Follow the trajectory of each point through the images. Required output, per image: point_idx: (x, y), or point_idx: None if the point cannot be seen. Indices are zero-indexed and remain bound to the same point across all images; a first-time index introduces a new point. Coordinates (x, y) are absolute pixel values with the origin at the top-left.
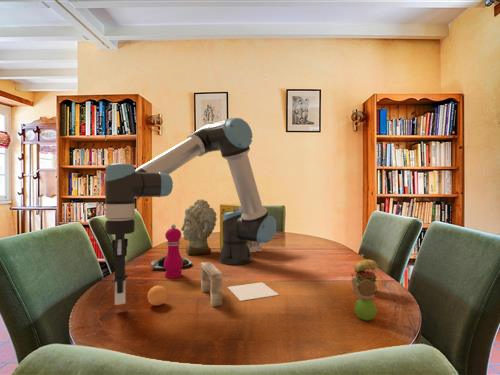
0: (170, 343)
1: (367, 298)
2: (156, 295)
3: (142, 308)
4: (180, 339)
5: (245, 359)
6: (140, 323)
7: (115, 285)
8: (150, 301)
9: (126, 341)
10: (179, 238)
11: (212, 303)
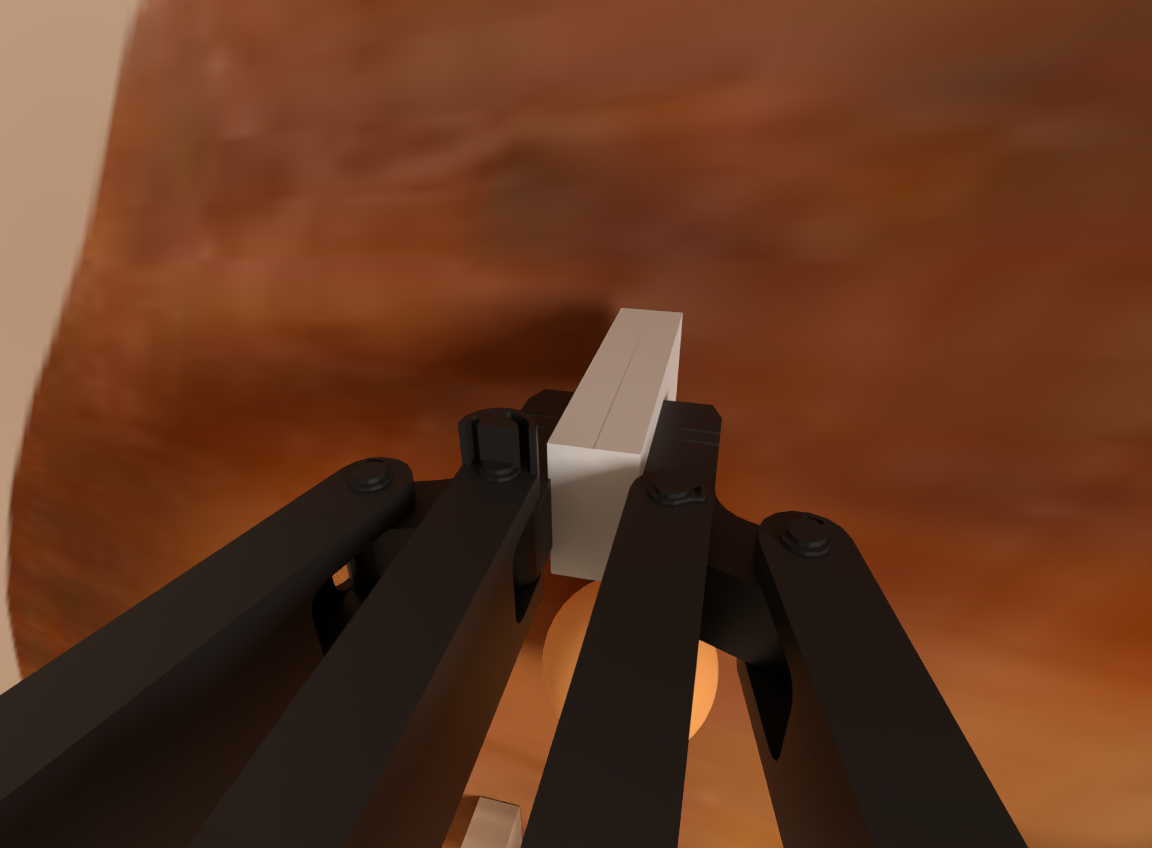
0: (111, 525)
1: None
2: (542, 661)
3: None
4: (146, 569)
5: (24, 678)
6: (348, 444)
7: (567, 419)
8: (586, 587)
9: (126, 340)
10: None
11: (473, 816)
